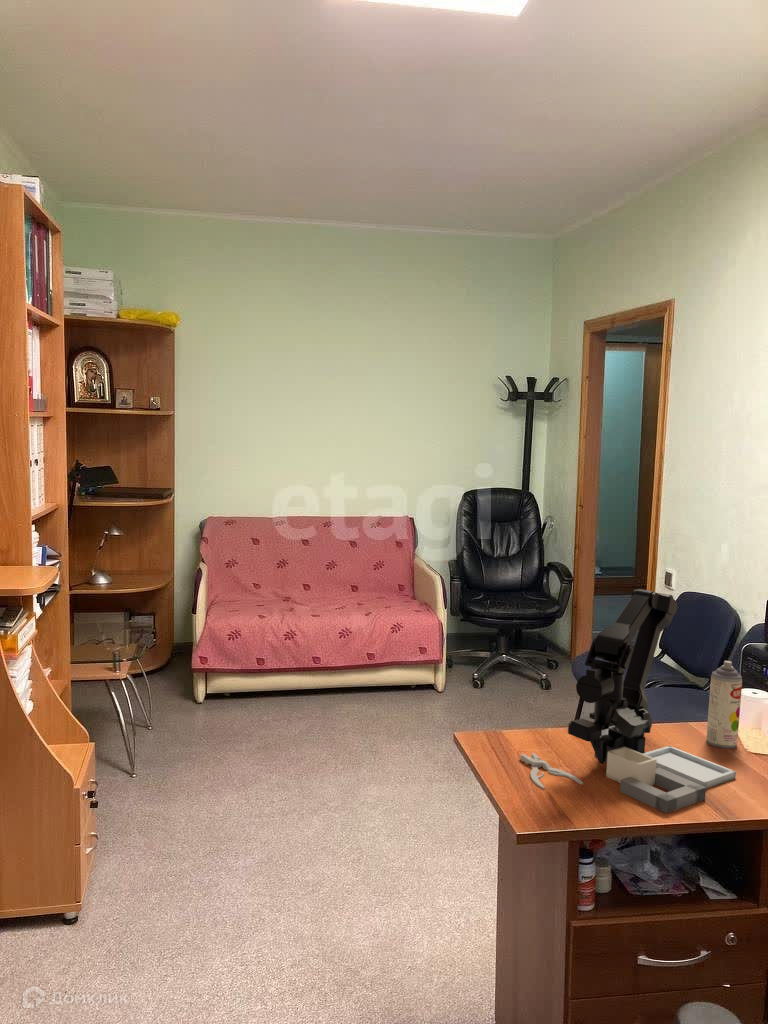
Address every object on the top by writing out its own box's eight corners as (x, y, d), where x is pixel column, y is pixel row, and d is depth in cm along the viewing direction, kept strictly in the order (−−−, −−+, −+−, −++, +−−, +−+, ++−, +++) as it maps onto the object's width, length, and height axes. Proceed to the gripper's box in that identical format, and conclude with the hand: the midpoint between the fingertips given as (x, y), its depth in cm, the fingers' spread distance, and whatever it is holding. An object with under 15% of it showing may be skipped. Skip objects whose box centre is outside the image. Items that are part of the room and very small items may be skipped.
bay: (619, 791, 163) (620, 779, 163) (658, 779, 170) (659, 767, 170) (666, 813, 154) (667, 801, 154) (705, 799, 161) (705, 787, 161)
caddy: (587, 768, 174) (589, 743, 174) (604, 763, 177) (606, 738, 177) (637, 790, 164) (639, 764, 163) (654, 784, 167) (656, 759, 166)
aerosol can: (730, 751, 188) (737, 667, 186) (701, 742, 192) (708, 661, 191) (741, 743, 193) (747, 662, 191) (712, 735, 197) (718, 656, 196)
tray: (637, 761, 179) (638, 754, 179) (669, 751, 186) (669, 745, 186) (704, 789, 166) (704, 782, 166) (735, 778, 172) (735, 771, 172)
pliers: (542, 783, 162) (507, 755, 177) (541, 790, 163) (506, 762, 177) (584, 778, 166) (546, 751, 180) (583, 785, 166) (546, 758, 180)
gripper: (610, 710, 161) (605, 785, 162) (667, 696, 171) (662, 767, 173) (568, 694, 170) (564, 766, 171) (625, 682, 180) (620, 749, 182)
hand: (604, 762), depth 174 cm, fingers closed on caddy
